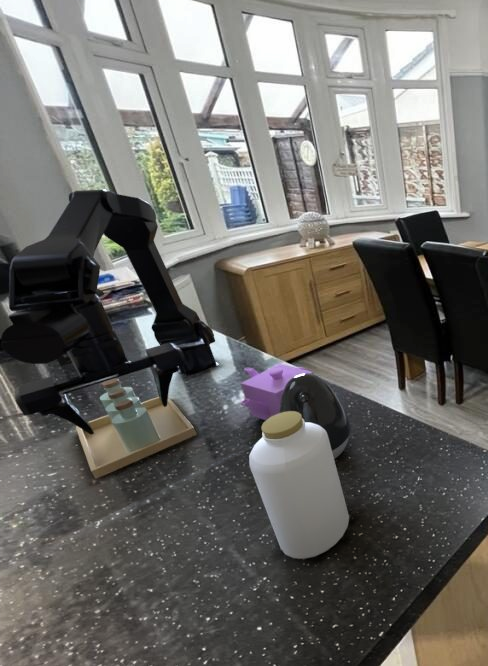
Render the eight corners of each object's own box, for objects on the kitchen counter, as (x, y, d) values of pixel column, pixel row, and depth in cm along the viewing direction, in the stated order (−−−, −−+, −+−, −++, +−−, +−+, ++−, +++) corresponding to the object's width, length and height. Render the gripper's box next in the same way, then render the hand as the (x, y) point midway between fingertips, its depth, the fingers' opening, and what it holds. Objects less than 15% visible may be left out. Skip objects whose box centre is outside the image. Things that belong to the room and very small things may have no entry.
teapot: (221, 425, 73) (203, 380, 69) (283, 389, 84) (271, 349, 80) (289, 450, 67) (273, 402, 63) (347, 407, 78) (337, 364, 74)
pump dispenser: (288, 487, 59) (259, 403, 53) (288, 446, 68) (264, 369, 62) (358, 463, 63) (340, 383, 57) (350, 427, 72) (333, 354, 66)
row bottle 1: (143, 412, 77) (123, 372, 73) (148, 420, 74) (129, 380, 71) (113, 423, 74) (91, 382, 70) (117, 432, 71) (95, 390, 68)
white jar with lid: (297, 510, 55) (262, 403, 48) (357, 505, 56) (331, 398, 49) (269, 566, 48) (221, 449, 40) (339, 560, 48) (305, 443, 41)
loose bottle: (157, 434, 71) (137, 392, 67) (164, 444, 68) (143, 400, 65) (125, 447, 68) (102, 404, 64) (130, 458, 65) (107, 413, 61)
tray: (169, 401, 81) (166, 393, 80) (197, 436, 71) (193, 427, 70) (80, 435, 72) (75, 426, 71) (97, 481, 61) (91, 471, 60)
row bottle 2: (150, 423, 74) (130, 382, 70) (156, 432, 71) (135, 390, 68) (118, 435, 71) (96, 393, 67) (123, 445, 68) (101, 401, 65)
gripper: (153, 305, 70) (184, 380, 77) (-10, 342, 57) (43, 429, 63) (170, 319, 64) (202, 399, 70) (-9, 364, 51) (50, 458, 57)
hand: (130, 418), depth 65 cm, fingers open, 9 cm apart
